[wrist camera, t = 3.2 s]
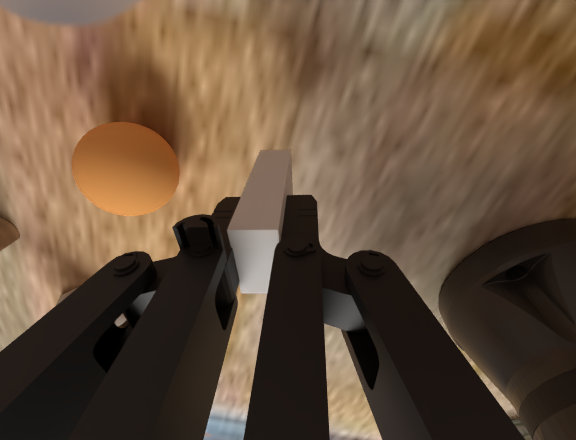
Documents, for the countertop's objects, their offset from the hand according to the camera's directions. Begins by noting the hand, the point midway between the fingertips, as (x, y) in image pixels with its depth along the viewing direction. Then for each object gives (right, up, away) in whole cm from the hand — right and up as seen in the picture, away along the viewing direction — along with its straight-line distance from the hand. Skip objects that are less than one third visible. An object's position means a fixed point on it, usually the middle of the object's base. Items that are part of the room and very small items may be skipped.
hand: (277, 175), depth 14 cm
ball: (-9, +1, +3) cm, 10 cm away
